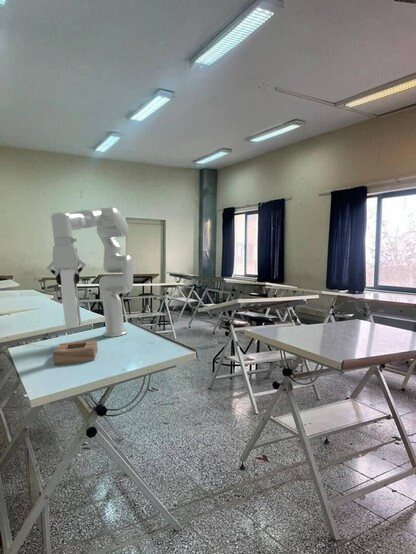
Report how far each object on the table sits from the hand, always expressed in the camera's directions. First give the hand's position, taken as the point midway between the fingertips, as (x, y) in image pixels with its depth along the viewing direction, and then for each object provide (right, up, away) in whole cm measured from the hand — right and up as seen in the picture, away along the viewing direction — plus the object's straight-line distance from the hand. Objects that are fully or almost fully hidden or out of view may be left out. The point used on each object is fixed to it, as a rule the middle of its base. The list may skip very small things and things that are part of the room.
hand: (68, 283), depth 161 cm
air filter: (+1, -19, +2) cm, 19 cm away
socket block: (+3, -32, +3) cm, 32 cm away
